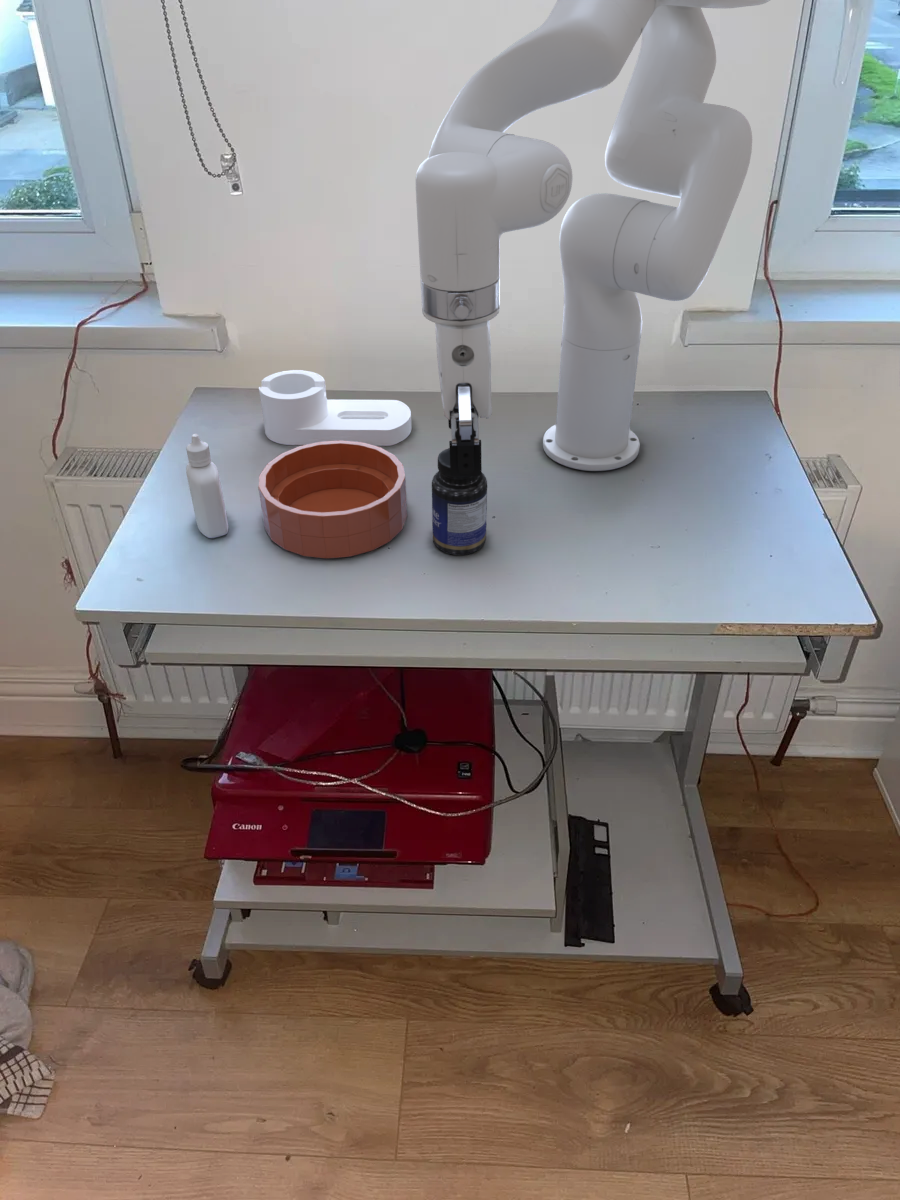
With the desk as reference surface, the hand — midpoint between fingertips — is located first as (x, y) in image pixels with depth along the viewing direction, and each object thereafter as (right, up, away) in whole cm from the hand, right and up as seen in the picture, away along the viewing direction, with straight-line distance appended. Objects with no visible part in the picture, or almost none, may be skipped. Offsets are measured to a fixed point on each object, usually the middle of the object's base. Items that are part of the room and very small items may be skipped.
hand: (464, 450), depth 101 cm
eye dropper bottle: (-29, -8, +10) cm, 32 cm away
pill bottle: (0, -9, +7) cm, 12 cm away
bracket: (-17, +7, +28) cm, 33 cm away
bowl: (-15, -7, +10) cm, 19 cm away
